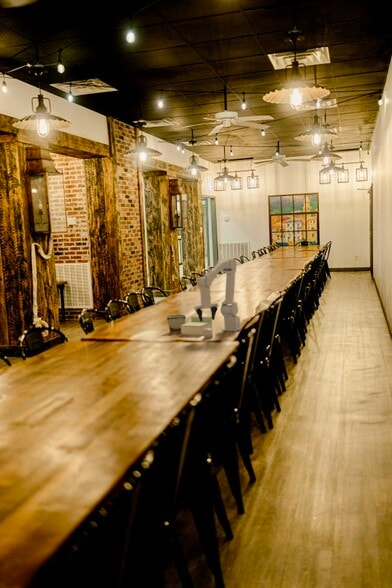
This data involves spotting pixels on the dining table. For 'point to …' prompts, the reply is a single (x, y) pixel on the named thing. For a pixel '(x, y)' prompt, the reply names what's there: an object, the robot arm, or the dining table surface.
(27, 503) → the dining table surface
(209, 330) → the cream rounded piece
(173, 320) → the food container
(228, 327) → the robot arm
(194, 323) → the lid
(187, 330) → the box
